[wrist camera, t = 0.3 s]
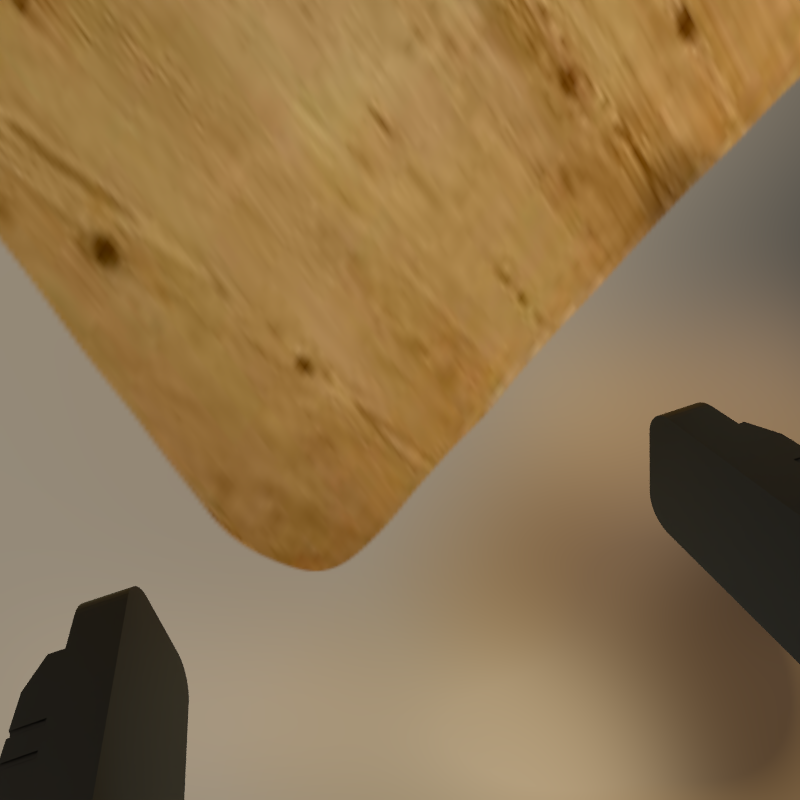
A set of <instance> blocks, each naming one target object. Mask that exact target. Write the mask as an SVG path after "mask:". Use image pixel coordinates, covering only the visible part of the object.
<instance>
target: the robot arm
mask: <svg viewBox="0 0 800 800" xmlns="http://www.w3.org/2000/svg"><path fill="white" fill-rule="evenodd" d="M650 498H651V502H652V506H653V509H654V512H655V514H656V516H657V518H658V520H659V522H660V523H661V525H662V526H663V528H664V529H665V530H666V531H667V532H668V533H669V534H670V536H672V537H673V538H674V539H675V540H676V541H677V542H678V543H679V544H680V545H681V546H682V547H683V548H684V549H685V550H686V551H687V552H688V553H689V554H690V555H691V556H692V557H693V558H694V559H695V560H696V561H697V562H698V563H699V564H700V565H701V566H702V567H703V568H704V569H705V570H706V571H707V572H708V573H709V574H710V575H711V576H712V577H713V578H714V579H715V580H716V581H717V582H718V583H719V584H720V585H721V586H722V587H723V588H724V589H725V590H726V591H727V592H728V593H729V594H730V595H731V596H732V597H733V598H734V599H735V600H736V601H737V602H738V603H739V604H740V605H741V606H742V607H743V608H744V609H745V610H746V611H747V612H748V613H749V614H750V615H751V616H752V617H753V618H754V619H755V620H756V621H757V622H758V623H759V624H760V625H761V626H762V627H763V628H764V629H765V630H766V631H767V632H768V633H769V634H770V635H771V636H772V637H773V638H774V639H775V640H776V641H777V642H778V643H779V644H780V645H781V646H782V647H783V648H784V649H785V650H786V651H787V652H788V653H789V654H790V655H791V656H792V657H793V658H794V659H795V660H796V661H797V662H798V663H799V664H800V445H799V444H797V443H796V442H794V441H792V440H791V439H789V438H788V437H786V436H784V435H783V434H780V433H777V432H774V431H771V430H768V429H765V428H762V427H758V426H755V425H752V424H749V423H746V422H743V423H740V424H738V423H737V422H735V421H734V420H732V419H730V418H729V417H727V416H726V415H724V414H723V413H721V412H720V411H718V410H717V409H715V408H714V407H712V406H710V405H708V404H706V403H696V404H693V405H690V406H687V407H684V408H681V409H677V410H675V411H671V412H668V413H665V414H662V415H659V416H656V417H655V418H654V419H653V420H652V422H651V425H650ZM188 704H189V695H188V685H187V679H186V674H185V671H184V667H183V664H182V661H181V659H180V656H179V654H178V653H177V651H176V649H175V647H174V645H173V643H172V642H171V640H170V638H169V636H168V634H167V633H166V631H165V629H164V627H163V626H162V624H161V622H160V620H159V618H158V616H157V615H156V613H155V611H154V610H153V608H152V606H151V604H150V602H149V600H148V598H147V597H146V595H145V594H144V592H143V591H142V590H141V589H140V588H139V587H137V586H134V587H131V588H128V589H125V590H122V591H118V592H115V593H112V594H110V595H106V596H103V597H100V598H97V599H94V600H91V601H88V602H85V603H83V604H81V605H79V606H78V608H77V610H76V612H75V615H74V619H73V623H72V627H71V630H70V634H69V637H68V641H67V645H66V649H63V650H60V651H57V652H54V653H51V654H48V655H47V656H46V658H45V659H44V661H43V662H42V663H41V665H40V666H39V668H38V669H37V670H36V672H35V673H34V675H33V676H32V678H31V679H30V681H29V682H28V683H27V685H26V686H25V688H24V689H23V691H22V692H21V695H20V698H19V701H18V704H17V707H16V710H15V713H14V717H13V720H12V723H11V726H10V729H9V733H10V738H8V739H6V741H5V744H4V747H3V750H2V754H1V757H0V800H184V791H185V769H186V768H185V767H186V748H187V746H186V745H187V726H188V725H187V724H188Z"/></svg>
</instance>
